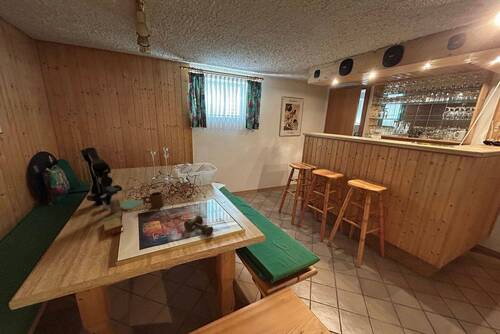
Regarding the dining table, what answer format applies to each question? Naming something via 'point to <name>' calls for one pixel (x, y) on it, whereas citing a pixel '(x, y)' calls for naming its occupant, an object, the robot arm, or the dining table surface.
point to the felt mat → (130, 204)
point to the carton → (112, 225)
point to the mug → (155, 199)
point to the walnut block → (115, 206)
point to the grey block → (106, 205)
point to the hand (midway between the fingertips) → (108, 205)
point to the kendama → (198, 225)
